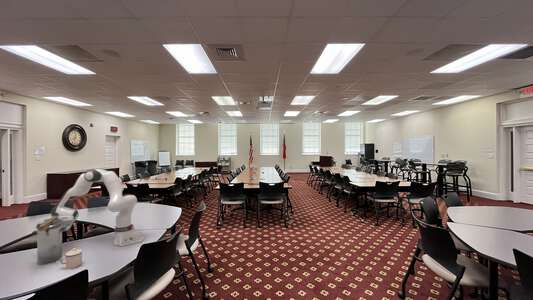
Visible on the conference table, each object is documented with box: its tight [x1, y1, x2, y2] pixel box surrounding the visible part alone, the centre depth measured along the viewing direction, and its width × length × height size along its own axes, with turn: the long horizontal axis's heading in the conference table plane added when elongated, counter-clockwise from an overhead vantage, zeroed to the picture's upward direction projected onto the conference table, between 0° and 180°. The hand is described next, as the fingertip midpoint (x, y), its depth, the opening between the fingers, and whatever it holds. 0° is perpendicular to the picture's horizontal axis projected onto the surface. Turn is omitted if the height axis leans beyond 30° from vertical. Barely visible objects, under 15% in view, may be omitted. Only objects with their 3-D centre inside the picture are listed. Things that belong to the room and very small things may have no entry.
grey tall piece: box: [31, 219, 67, 266], centre depth 166 cm, size 18×14×28 cm
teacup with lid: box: [59, 247, 83, 269], centre depth 158 cm, size 12×9×12 cm
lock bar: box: [39, 213, 59, 231], centre depth 166 cm, size 3×28×5 cm, turn 27°
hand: (54, 218), depth 173 cm, fingers closed on lock bar, 3 cm apart
